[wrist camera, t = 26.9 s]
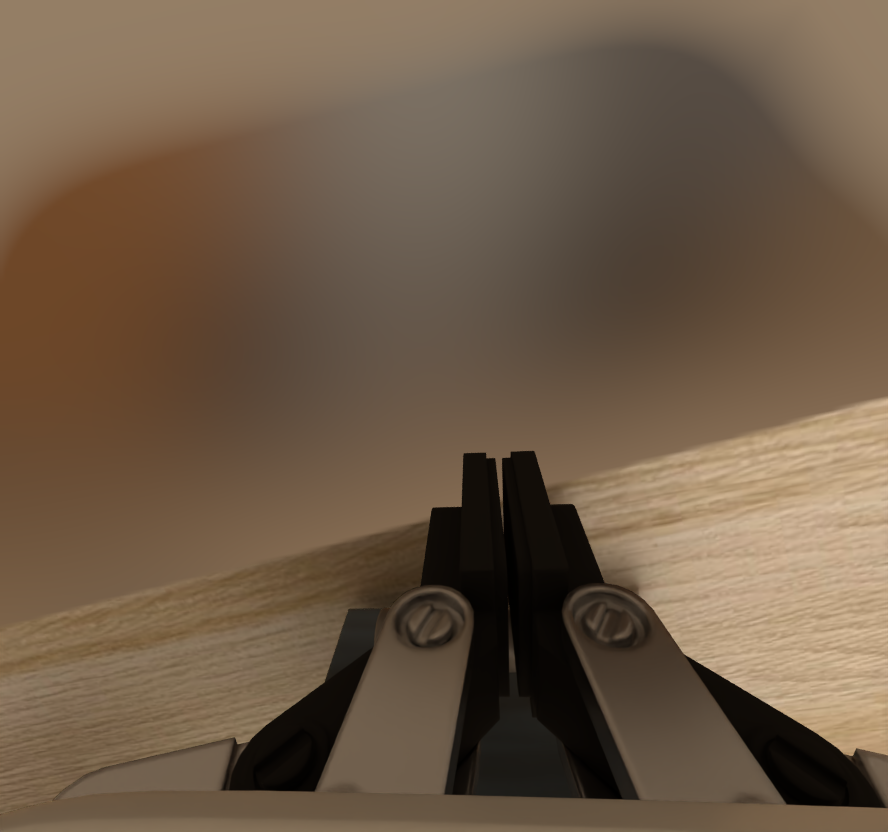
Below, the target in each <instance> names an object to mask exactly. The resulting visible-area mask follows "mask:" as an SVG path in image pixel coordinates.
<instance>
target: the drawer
mask: <svg viewBox="0 0 888 832" xmlns="http://www.w3.org/2000/svg"><path fill="white" fill-rule="evenodd" d="M389 609H390V608H383V609H349V610H348V612H347V615H346V619H345V622H344V625H343V628H342V631H341V634H340V637H339V640H338V643H337V646H336V649H335V652H334V655H333V658H332V661H331V664H330V667H329V670H328V673H327V676H326V679H325V682H326V681H327V680H329V679H330V678H331V677H333V676H334V675H336V674H337V673H338V672H340V671H341V670H342V669H344V668H345V667H346V666H348V665H349V664H351V663H352V662H353V661H355V660H356V659H357V658H359V657H360V656H361V655H363V654H364V653H366V652H367V651H368V650H370V649H371V648H372V647H374V645H375V642H376V640H377V637H378V635H379V632H380V630H381V627H382V625H383V623H384V620H385V618H386V615H387V613H388V611H389ZM508 624H509V680H510V697H499V706H500V720H499V721H498V722H497V723H496V724H495V725H494V726H493V727H492V728H491V729H490V730H489V732H488V733H487V734H486V735H485V736H484V737H483V738H482V739H481V759H480V767H479V776H478V784H477V793H476V796H513V797H550V798H572V796H571V793H570V789H569V786H568V783H567V780H566V776H565V773H564V770H563V767H562V763H561V760H560V757H559V754H558V748H557V742H556V736H555V735H553V734H552V733H551V732H550V731H549V730H548V729H547V728H546V727H545V726H544V725H542V724H541V723H540V722H539V721H538V720H537V718H532V713H531V705H530V697H519V694H518V686H517V676H516V667H515V657H514V647H513V638H512V628H511V618H510V609H509V607H508ZM325 682H324V683H325Z"/></svg>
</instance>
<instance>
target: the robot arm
mask: <svg viewBox="0 0 888 832" xmlns="http://www.w3.org/2000/svg"><path fill="white" fill-rule="evenodd" d="M502 477H503V525H502V515H501V506H500V497H499V488H498V479H497V470H496V462H495V458H489V459H488V458H487V459H486V453H464V456H463V483H462V507H440V508H432V511H431V517H430V524H429V531H428V538H427V545H426V552H425V559H424V566H423V573H422V580H421V586H420V587H417V588H413V589H412V590H410V591H408V592H406V593H404V594H402V595H401V596H400V597H399V598H398V599H397V600H396V601H395V602H394V603H393V604H392V606H391V608H390V609H389V611H388V613H387V615H386V618H385V620H384V623H383V625H382V627H381V630H380V632H379V635H378V637H377V640H376V642H375V645H374V647H372V648H371V649H370V650H368V651H367V652H366V653H364V654H363V655H361V656H360V657H359V658H357V659H356V660H355V661H353V662H352V663H351V664H349V665H348V666H346V667H345V668H344V669H342V670H341V671H340V672H338V673H337V674H336V675H334V676H333V677H331V678H330V679H329V680H327V681H326V682H325V683H323V684H322V685H321V686H319V687H318V688H316V689H315V690H314V691H312V692H311V693H310V694H308V695H307V696H306V697H304V698H303V699H301V700H300V701H299V702H297V703H296V704H295V705H293V706H292V707H291V708H289V709H288V710H286V711H285V712H284V713H282V714H281V715H280V716H278V717H277V718H276V719H274V720H273V721H271V722H270V723H269V724H267V725H266V726H265V727H264V728H263V729H262V730H261V731H260V732H258V733H257V734H256V735H255V736H254V737H253V738H252V739H251V740H250V742H247V743H243V744H237V742H236V739H235V737H234V738H230V739H226V740H221V741H217V742H212V743H208V744H204V745H199V746H195V747H191V748H186V749H182V750H178V751H173V752H169V753H164V754H160V755H156V756H151V757H147V758H143V759H138V760H134V761H130V762H125V763H121V764H116V765H112V766H108V767H104V768H101V769H99V770H96V771H94V772H91V773H89V774H86V775H84V776H83V777H81V778H80V779H78V780H77V781H75V782H74V783H72V784H71V785H69V786H68V787H66V788H65V789H64V790H63V791H62V792H60V793H59V794H58V795H57V796H56V797H55V798H54V799H53V800H52V801H49V802H45V803H41V804H37V805H33V806H29V807H25V808H21V809H17V810H14V811H10V812H7V813H3V814H0V832H888V756H887V755H883V754H879V753H874V752H870V751H865V750H861V749H857V748H856V750H855V753H854V755H853V756H849V755H844V754H843V753H842V752H841V751H840V750H839V749H838V748H836V747H835V746H834V745H832V744H831V743H829V742H828V741H826V740H825V739H824V738H822V737H821V736H819V735H818V734H817V733H815V732H813V731H812V730H810V729H808V728H807V727H805V726H803V725H802V724H800V723H798V722H797V721H795V720H793V719H792V718H790V717H788V716H787V715H785V714H783V713H781V712H780V711H778V710H776V709H775V708H773V707H771V706H770V705H768V704H766V703H765V702H763V701H761V700H760V699H758V698H756V697H755V696H753V695H751V694H750V693H748V692H746V691H745V690H743V689H741V688H740V687H738V686H736V685H735V684H733V683H731V682H730V681H728V680H726V679H724V678H723V677H721V676H719V675H718V674H716V673H714V672H713V671H711V670H709V669H708V668H706V667H704V666H703V665H701V664H699V663H698V662H696V661H694V660H693V659H691V658H689V657H688V656H686V655H684V654H683V653H682V651H681V650H680V648H679V647H678V645H677V644H676V642H675V641H674V639H673V638H672V637H671V635H670V634H669V632H668V631H667V629H666V628H665V626H664V625H663V623H662V622H661V620H660V619H659V618H658V616H657V615H656V613H655V612H654V610H653V609H652V608H651V607H650V606H649V605H648V604H647V603H646V602H645V600H643V599H642V598H640V597H639V596H638V595H636V594H635V593H633V592H632V591H629V590H627V589H624V588H622V587H620V586H616V585H612V584H607V583H604V580H603V578H602V575H601V572H600V570H599V567H598V565H597V562H596V560H595V557H594V554H593V552H592V549H591V547H590V544H589V541H588V539H587V536H586V534H585V531H584V528H583V526H582V523H581V521H580V518H579V516H578V513H577V510H576V508H575V506H574V505H573V504H558V505H550V502H549V499H548V495H547V492H546V489H545V485H544V482H543V479H542V475H541V472H540V468H539V465H538V462H537V458H536V455H535V452H534V451H520V452H511V458H502ZM503 526H504V534H503ZM508 599H509V609H510V618H511V628H512V638H513V647H514V657H515V667H516V676H517V686H518V694H519V697H530V705H531V713H532V718H537V720H538V721H539V722H540V723H541V724H542V725H544V726H545V727H546V728H547V729H548V730H549V731H550V732H551V733H552V734H553V735H555V736H556V742H557V748H558V754H559V757H560V760H561V763H562V767H563V770H564V773H565V776H566V780H567V783H568V786H569V789H570V793H571V796H572V798H550V797H513V796H476V793H477V784H478V776H479V767H480V759H481V739H482V738H483V737H484V736H485V735H486V734H487V733H488V732H489V730H490V729H491V728H492V727H493V726H494V725H495V724H496V723H497V722H498V721H499V720H500V706H499V697H510V680H509V624H508Z"/></svg>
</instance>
